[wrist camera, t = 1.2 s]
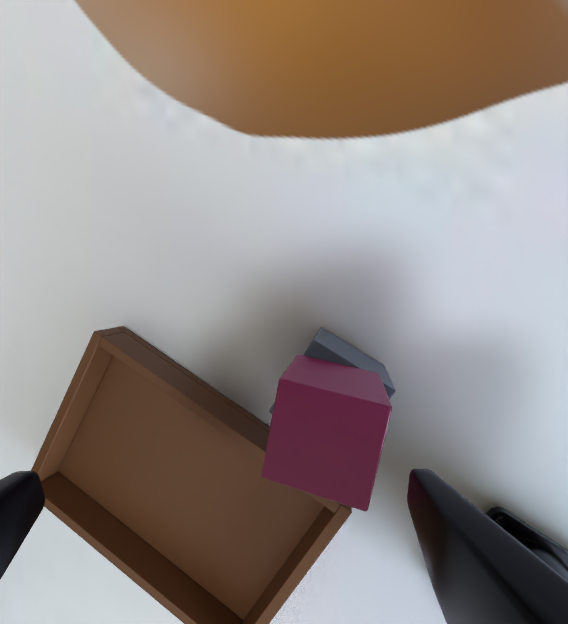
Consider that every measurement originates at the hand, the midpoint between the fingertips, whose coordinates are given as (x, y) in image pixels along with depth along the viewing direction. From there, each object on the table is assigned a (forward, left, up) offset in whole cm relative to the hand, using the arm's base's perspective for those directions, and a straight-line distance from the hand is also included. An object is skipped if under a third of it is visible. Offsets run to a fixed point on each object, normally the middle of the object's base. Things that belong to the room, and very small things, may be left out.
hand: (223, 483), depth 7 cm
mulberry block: (-2, 0, -8) cm, 8 cm away
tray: (+3, +12, -12) cm, 18 cm away
